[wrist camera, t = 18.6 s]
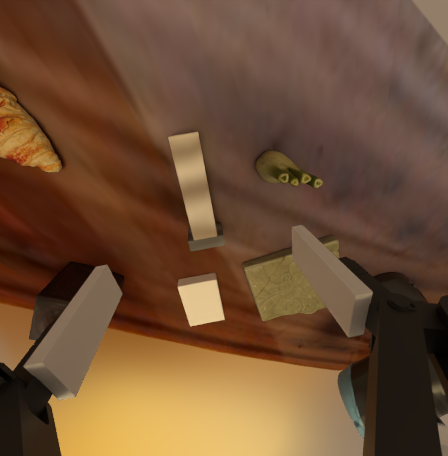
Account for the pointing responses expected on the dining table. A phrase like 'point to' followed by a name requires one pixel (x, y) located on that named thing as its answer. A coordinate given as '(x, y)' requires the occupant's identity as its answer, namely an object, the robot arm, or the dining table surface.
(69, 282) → the dark brown crank device
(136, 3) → the dining table surface
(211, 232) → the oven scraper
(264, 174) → the fennel bulb
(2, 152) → the croissant
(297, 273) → the decorative tile
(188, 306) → the cream flat block
